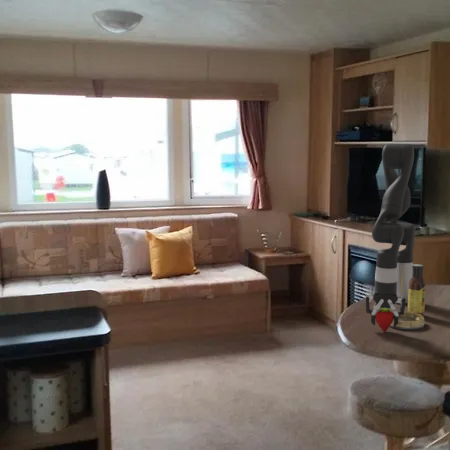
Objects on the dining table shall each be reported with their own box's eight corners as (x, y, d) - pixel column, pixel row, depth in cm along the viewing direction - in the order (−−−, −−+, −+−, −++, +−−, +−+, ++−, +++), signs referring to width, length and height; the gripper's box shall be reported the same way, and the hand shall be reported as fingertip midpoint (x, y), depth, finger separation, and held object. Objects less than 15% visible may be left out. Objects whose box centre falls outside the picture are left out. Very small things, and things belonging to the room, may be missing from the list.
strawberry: (370, 331, 208) (371, 304, 206) (382, 327, 213) (383, 300, 211) (385, 335, 203) (386, 308, 202) (397, 331, 209) (398, 303, 207)
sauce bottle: (425, 318, 224) (427, 267, 221) (408, 317, 225) (410, 266, 223) (422, 313, 231) (425, 263, 228) (406, 312, 232) (408, 263, 229)
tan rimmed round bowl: (380, 316, 226) (381, 309, 226) (420, 318, 223) (421, 311, 223) (384, 328, 212) (384, 321, 211) (426, 331, 209) (427, 323, 208)
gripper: (406, 277, 208) (404, 323, 210) (364, 276, 210) (362, 321, 213) (408, 282, 200) (406, 329, 203) (365, 281, 203) (363, 327, 205)
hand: (384, 325), depth 208 cm, fingers closed on strawberry, 6 cm apart
